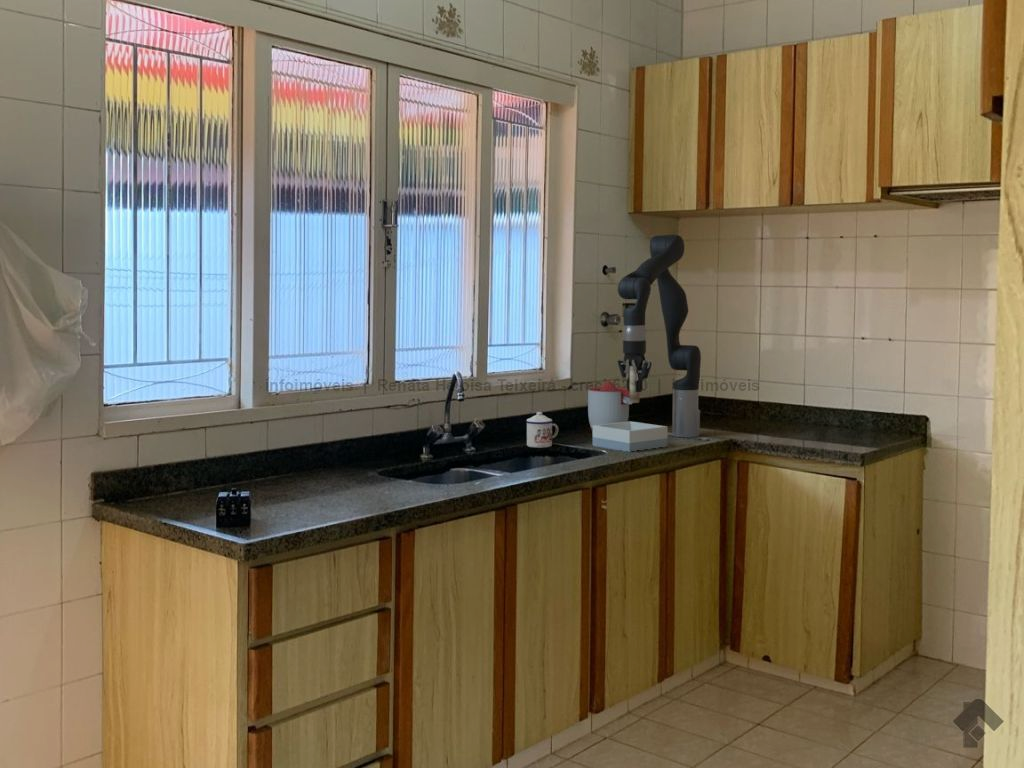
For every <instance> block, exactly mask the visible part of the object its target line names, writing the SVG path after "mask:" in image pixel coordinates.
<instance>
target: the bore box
mask: <svg viewBox="0 0 1024 768" xmlns="http://www.w3.org/2000/svg"><path fill="white" fill-rule="evenodd" d="M668 427H669V426H665V425H660V424H659V425H658V424H651V423H645V422H639V421H631V420H628V422H620V423H611V424H602V425H593V432H592V446H593V447H598V448H603V449H609V450H616V451H620V450H622V451H621V452H626V451H628V452H627V453H632V452H631V451H634V452H638V451H637V450H641V451H645V450H644V449H648V450H652V449H651V448H656V449H659V448H658V447H663V448H667V447H668ZM666 446H667V447H666Z"/></svg>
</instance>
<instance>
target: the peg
mask: <svg viewBox="0 0 1024 768" xmlns="http://www.w3.org/2000/svg"><path fill="white" fill-rule="evenodd" d="M637 371H640V370H637ZM630 403H632V404H639V403H640V392H636V377H635V374H634V371H633V366H630Z"/></svg>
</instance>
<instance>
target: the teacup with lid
mask: <svg viewBox="0 0 1024 768" xmlns="http://www.w3.org/2000/svg"><path fill="white" fill-rule="evenodd" d="M525 422H526V446H527V447H529V448H537V449H539V448H541V449H542V448H549V447H550V448H551V447H552V445H553V439H554V438H555V437H557V435H558V434H559V433H558V432H559V426H558V425H557V424H556V423H553V419H552V418H549V417H548V416H546V415H544V414H543V412H542V411H537V412H536V414H535V415H533V416H531V417H529V418H527V419H526V421H525ZM553 427H554V428H555V429H554V433H553Z"/></svg>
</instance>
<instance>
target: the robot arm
mask: <svg viewBox="0 0 1024 768" xmlns="http://www.w3.org/2000/svg"><path fill="white" fill-rule="evenodd" d="M649 252H650V253H649V254H650V257H649V258H648V259H646V260H645V261H643V262H642V263H641V264H639V266H638V267H637V268H636V269H635V270H634V271H631V272H630V273H628V274H627V275H625V276H623V277H622V278H621V279H620V281H619V282H618V285H617V293H618V295H619V296H620V298H621V299H623V300H636V303H635V304H634V305H632V306H631V305H630V306H628V307H625V308H624V309H623V328H622V329H623V330H622V353H623V354H624V356H623V359H618V360H617V365H618V368H619V371H620V375H621V378H625V380H626V388H627V390H628V391H630V366H633V371H634V374H635V377H636V392H639V393H642V391H643V382H644V381H643V380H646V379H648V377H649V374H650V372H651V371H650V370H651V368H652V366H653V365H652V361H647V360H646V357H645V354H646V353H647V332H646V331H647V330H646V312H647V311H646V310H647V307H648V306H647V305H648V303H649V302H648V301H649V299H650V295H651V291H652V289H651V287H652V284H653V283H654V282H655V281H657V286H658V287H657V288H658V292H659V299H660V305H661V311H662V316H663V322H664V323H663V324H664V328H665V334H666V348H667V358H668V363H669V366H670V368H671V369H672V370H673V371H674V370H675V371H685V372H686V374H685V376H683V377H682V378H679V379H677V380H674V381H673V382H672V425H671V426H672V428H671V430H672V431H671V432H672V434H671V435H672V437H675V438H697V437H698V436H700V435H701V433H700V432H701V431H700V430H701V429H700V428H701V422H700V421H701V410H700V409H699V390H700V389H699V386H700V385H699V384H700V379H701V378H700V377H701V365H702V363H701V360H702V355H701V354H702V353H701V350H700V348H699V347H698V346H697V345H694V344H693V345H692V344H691V345H690V344H688V345H687V344H680V331H681V329H682V327H683V326H684V324H685V321H686V319H687V316H688V314H689V304H688V298H687V294H686V292H685V289H684V288H683V287H682V286H681V284H679V282H678V281H677V280H676V279H675V277H674V276H673V275H672V274H671V271H670V270H669V268H670V267H672V266H673V265H674V264H676V263H677V262H679V261H680V260H682V258H683V256H684V253H685V242H684V239H683V237H682V236H680V235H679V234H663V235H662V234H660V235H654V236H652V237H651V239H650V241H649ZM637 370H639V371H637Z"/></svg>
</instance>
